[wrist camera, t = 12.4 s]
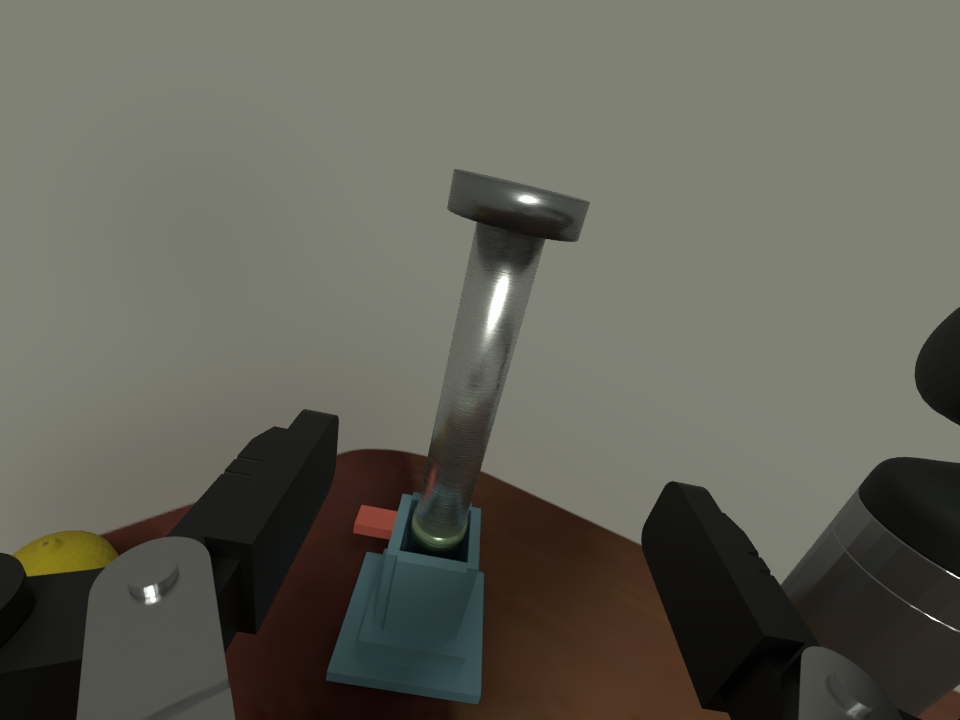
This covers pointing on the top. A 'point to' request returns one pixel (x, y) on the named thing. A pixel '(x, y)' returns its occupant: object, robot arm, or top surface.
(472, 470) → the column
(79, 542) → the lemon
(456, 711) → the top surface
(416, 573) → the stand base
